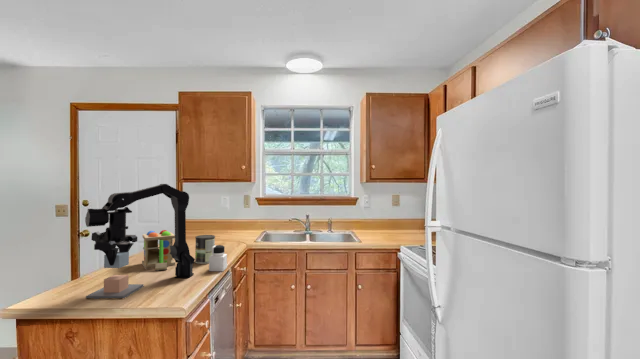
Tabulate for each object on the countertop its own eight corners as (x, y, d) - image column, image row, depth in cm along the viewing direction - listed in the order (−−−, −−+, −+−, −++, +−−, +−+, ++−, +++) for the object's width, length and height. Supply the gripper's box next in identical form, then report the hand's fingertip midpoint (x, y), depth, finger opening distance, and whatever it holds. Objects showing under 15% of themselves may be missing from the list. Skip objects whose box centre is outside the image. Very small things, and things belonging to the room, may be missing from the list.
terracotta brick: (128, 287, 130) (128, 275, 130) (119, 292, 124) (119, 279, 124) (113, 287, 130) (113, 275, 130) (103, 292, 124) (103, 279, 124)
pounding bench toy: (178, 268, 162) (179, 233, 162) (147, 273, 154) (147, 236, 154) (170, 259, 181) (170, 228, 181) (141, 263, 173) (142, 230, 173)
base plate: (143, 286, 134) (143, 284, 134) (123, 298, 120) (123, 296, 120) (109, 286, 134) (109, 284, 134) (85, 298, 120) (85, 296, 120)
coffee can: (194, 264, 170) (195, 238, 170) (195, 260, 180) (195, 235, 180) (215, 263, 174) (215, 237, 174) (214, 258, 184) (214, 234, 184)
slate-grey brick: (128, 264, 131) (128, 252, 131) (118, 268, 125) (119, 255, 125) (114, 264, 131) (114, 251, 131) (104, 267, 125) (104, 255, 125)
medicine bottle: (227, 267, 165) (227, 244, 165) (223, 271, 158) (223, 247, 158) (213, 267, 165) (213, 244, 165) (208, 271, 157) (208, 247, 158)
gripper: (112, 221, 138) (111, 258, 137) (80, 227, 119) (79, 269, 119) (138, 221, 138) (137, 258, 137) (110, 227, 119) (109, 269, 119)
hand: (116, 263), depth 128 cm, fingers closed on slate-grey brick, 6 cm apart
